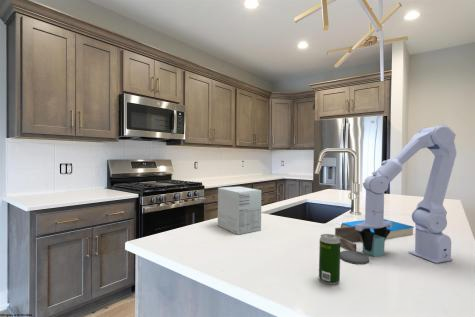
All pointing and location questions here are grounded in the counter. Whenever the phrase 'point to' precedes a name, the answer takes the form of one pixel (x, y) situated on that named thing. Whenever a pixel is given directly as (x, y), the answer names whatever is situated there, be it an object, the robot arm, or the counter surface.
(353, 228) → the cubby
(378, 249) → the block
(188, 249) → the counter surface
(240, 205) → the supplement box
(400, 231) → the book
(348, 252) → the coaster
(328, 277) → the beer can
